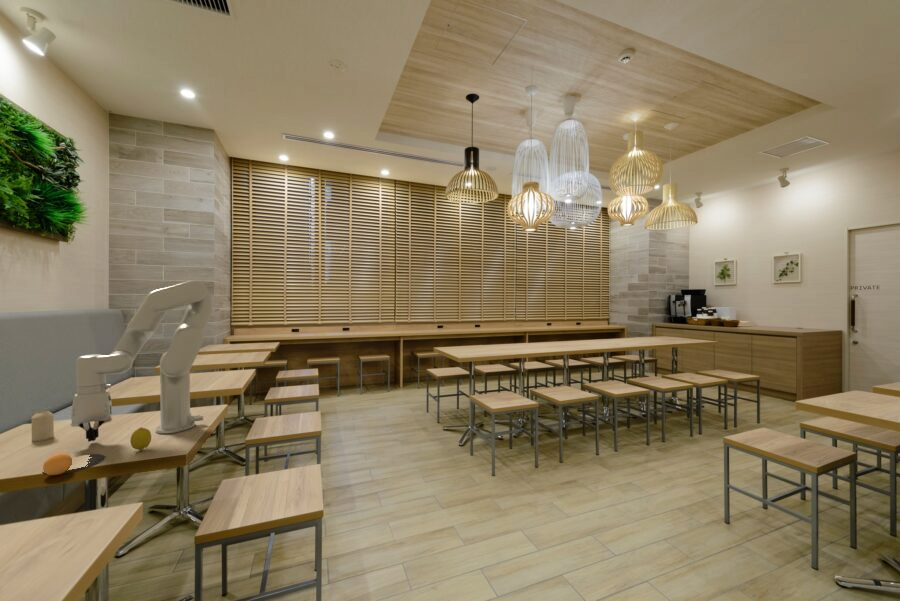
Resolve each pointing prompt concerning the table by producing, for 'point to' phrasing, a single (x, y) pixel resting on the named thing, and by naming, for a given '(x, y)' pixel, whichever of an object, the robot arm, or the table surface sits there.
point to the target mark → (93, 461)
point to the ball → (57, 464)
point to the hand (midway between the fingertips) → (92, 439)
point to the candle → (42, 426)
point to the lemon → (140, 438)
